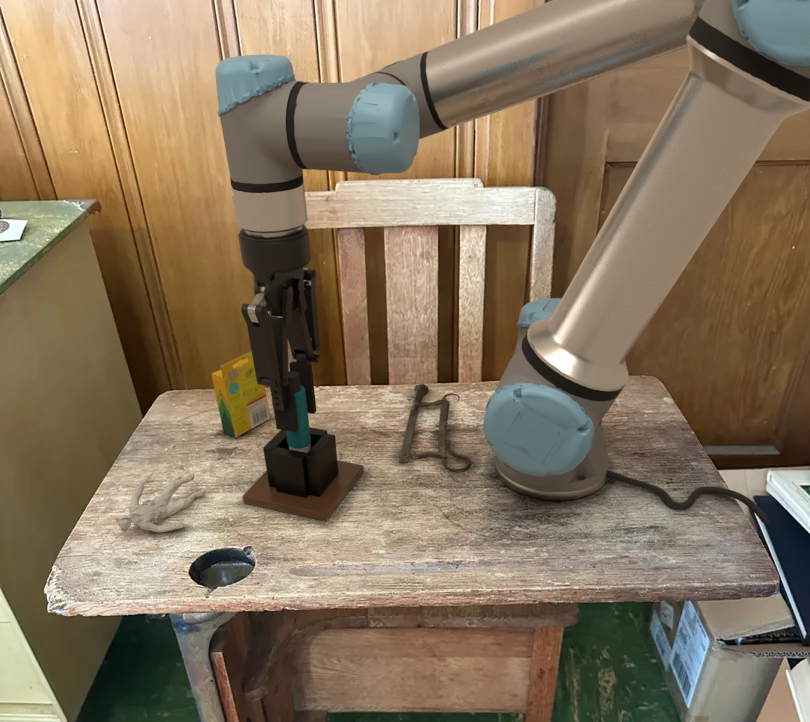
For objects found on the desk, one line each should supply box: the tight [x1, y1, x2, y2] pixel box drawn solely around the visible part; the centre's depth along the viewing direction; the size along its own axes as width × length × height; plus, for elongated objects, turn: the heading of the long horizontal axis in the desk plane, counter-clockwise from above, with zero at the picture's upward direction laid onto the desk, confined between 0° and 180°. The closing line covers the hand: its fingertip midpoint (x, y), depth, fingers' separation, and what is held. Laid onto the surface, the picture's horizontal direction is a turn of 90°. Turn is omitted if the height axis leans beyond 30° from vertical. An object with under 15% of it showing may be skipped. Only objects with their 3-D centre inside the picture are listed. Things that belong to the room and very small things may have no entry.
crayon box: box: [210, 351, 271, 439], centre depth 112 cm, size 7×3×12 cm, turn 141°
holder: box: [242, 426, 365, 522], centre depth 100 cm, size 12×12×7 cm
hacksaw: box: [398, 383, 472, 473], centre depth 113 cm, size 24×10×2 cm, turn 173°
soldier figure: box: [114, 472, 206, 535], centre depth 96 cm, size 8×5×12 cm
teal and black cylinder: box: [286, 370, 311, 453], centre depth 96 cm, size 3×3×13 cm
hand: (296, 419), depth 95 cm, fingers open, 4 cm apart
